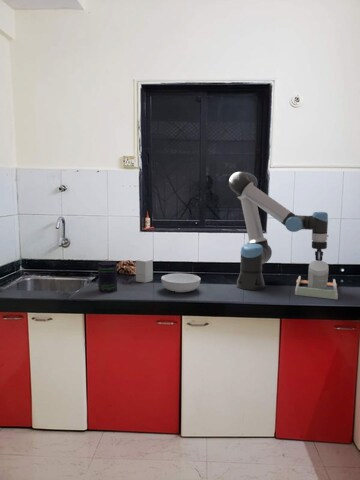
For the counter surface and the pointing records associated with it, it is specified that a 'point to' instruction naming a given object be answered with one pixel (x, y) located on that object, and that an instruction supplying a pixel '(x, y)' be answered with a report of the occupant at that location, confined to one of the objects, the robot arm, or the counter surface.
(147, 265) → the supplement box
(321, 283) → the supplement tub
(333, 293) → the channel
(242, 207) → the robot arm
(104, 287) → the storage jar
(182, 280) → the serving bowl
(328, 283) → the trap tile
